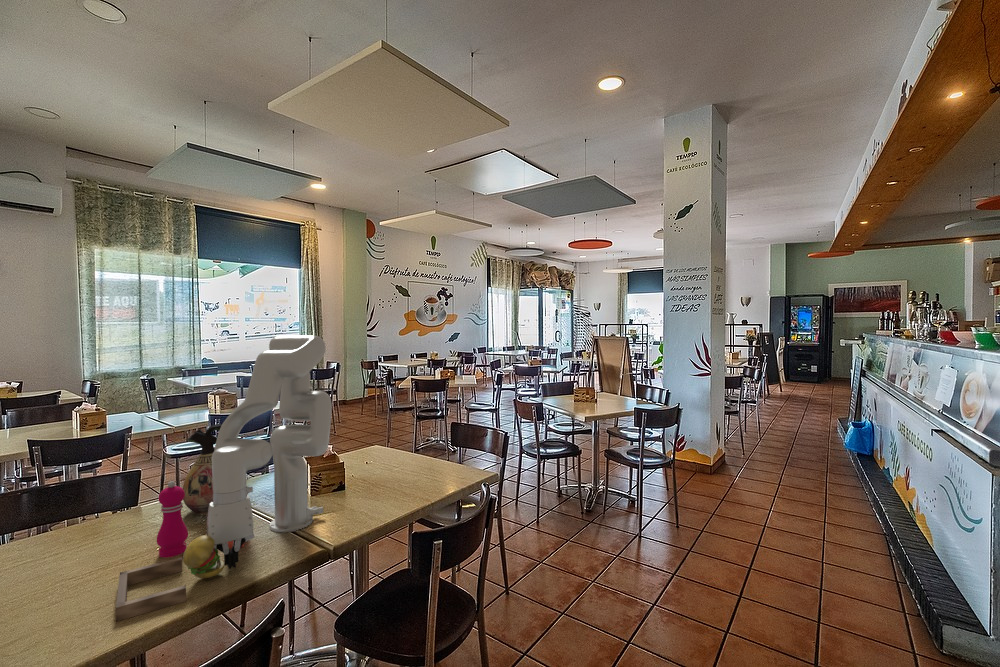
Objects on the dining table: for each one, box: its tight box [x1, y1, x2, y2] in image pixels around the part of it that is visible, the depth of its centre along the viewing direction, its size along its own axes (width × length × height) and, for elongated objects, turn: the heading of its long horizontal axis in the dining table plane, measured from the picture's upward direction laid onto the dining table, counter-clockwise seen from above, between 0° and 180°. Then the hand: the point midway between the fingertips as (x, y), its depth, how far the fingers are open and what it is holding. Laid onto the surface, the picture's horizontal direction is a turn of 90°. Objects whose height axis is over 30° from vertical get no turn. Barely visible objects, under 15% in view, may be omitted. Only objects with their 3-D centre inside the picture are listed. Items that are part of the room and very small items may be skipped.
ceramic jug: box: [182, 423, 223, 516], centre depth 160 cm, size 17×15×30 cm
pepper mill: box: [156, 480, 189, 559], centre depth 131 cm, size 7×7×20 cm
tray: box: [115, 556, 187, 622], centre depth 112 cm, size 12×18×3 cm
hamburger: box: [182, 534, 226, 579], centre depth 117 cm, size 8×7×12 cm
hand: (231, 566), depth 122 cm, fingers closed
